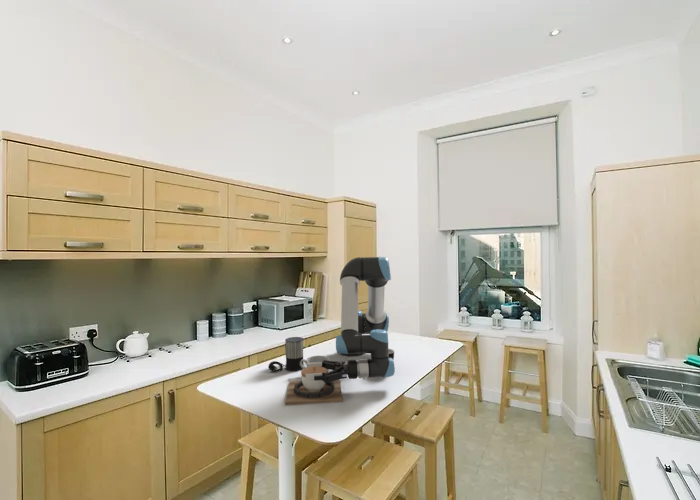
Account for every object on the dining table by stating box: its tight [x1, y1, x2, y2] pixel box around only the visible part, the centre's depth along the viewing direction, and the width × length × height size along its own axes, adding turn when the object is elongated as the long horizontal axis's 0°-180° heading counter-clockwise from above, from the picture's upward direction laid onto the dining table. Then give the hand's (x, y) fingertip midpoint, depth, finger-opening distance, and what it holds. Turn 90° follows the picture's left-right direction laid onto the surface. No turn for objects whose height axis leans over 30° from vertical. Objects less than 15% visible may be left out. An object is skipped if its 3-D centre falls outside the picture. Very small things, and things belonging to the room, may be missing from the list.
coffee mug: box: [388, 348, 395, 362], centre depth 165 cm, size 12×9×10 cm
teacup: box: [300, 355, 330, 373], centre depth 161 cm, size 14×11×8 cm
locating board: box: [284, 379, 344, 406], centre depth 142 cm, size 22×22×2 cm
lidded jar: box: [300, 366, 327, 392], centre depth 142 cm, size 11×11×9 cm
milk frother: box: [267, 336, 305, 373], centre depth 171 cm, size 14×16×15 cm
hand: (306, 371), depth 142 cm, fingers open, 13 cm apart
